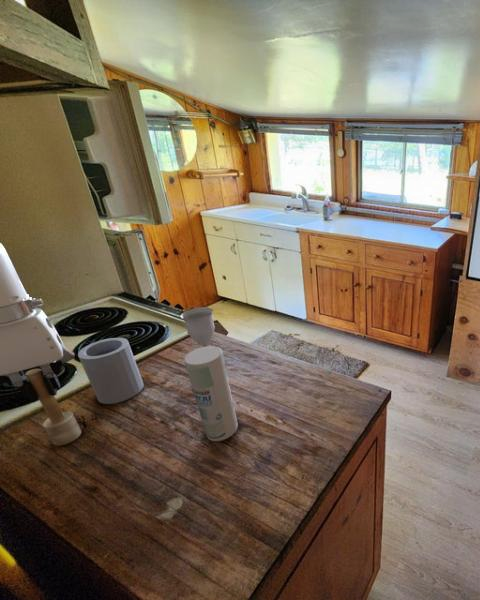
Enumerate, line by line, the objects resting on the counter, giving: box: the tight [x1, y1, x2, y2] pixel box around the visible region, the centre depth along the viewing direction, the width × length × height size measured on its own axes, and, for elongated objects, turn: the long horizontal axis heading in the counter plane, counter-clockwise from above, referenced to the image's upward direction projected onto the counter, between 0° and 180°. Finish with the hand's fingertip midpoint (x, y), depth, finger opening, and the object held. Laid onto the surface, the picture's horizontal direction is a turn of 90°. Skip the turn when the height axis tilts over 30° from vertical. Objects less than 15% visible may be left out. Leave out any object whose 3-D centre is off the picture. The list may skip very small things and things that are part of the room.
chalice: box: [180, 306, 216, 347], centre depth 87 cm, size 7×7×18 cm
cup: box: [77, 337, 144, 405], centre depth 79 cm, size 9×9×13 cm
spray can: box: [183, 345, 239, 442], centre depth 68 cm, size 6×6×20 cm
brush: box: [24, 368, 82, 446], centre depth 65 cm, size 4×4×17 cm
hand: (44, 394), depth 64 cm, fingers closed on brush, 2 cm apart
